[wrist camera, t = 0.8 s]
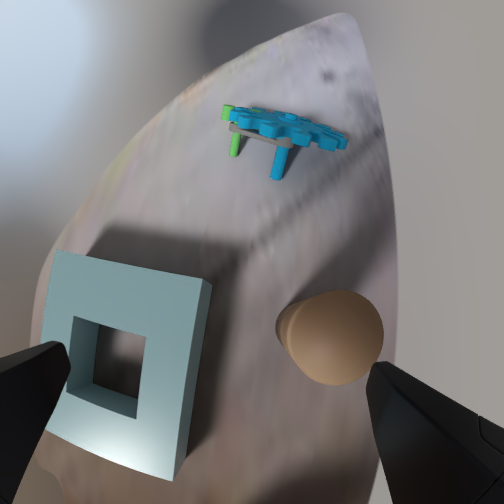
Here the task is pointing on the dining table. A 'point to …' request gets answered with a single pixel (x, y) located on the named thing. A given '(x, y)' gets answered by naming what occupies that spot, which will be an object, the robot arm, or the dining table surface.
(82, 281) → the housing
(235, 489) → the dining table surface
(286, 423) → the dining table surface
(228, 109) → the gear
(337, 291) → the peg
